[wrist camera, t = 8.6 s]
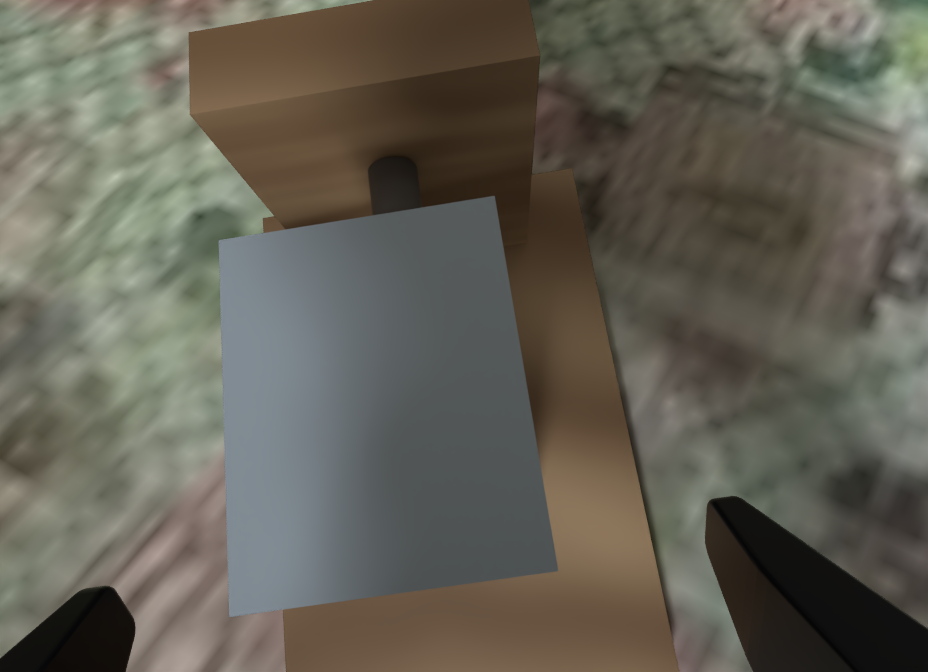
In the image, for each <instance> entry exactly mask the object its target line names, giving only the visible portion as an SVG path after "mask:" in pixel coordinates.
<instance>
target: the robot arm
mask: <svg viewBox="0 0 928 672" xmlns="http://www.w3.org/2000/svg"><path fill="white" fill-rule="evenodd" d="M705 544H706V549H707V553H708V556H709V559H710V561H711V564H712V567H713V569H714V572H715V575H716V577H717V580H718V583H719V586H720V588H721V591H722V594H723V596H724V599H725V602H726V604H727V607H728V610H729V612H730V615H731V618H732V620H733V623H734V626H735V628H736V631H737V634H738V637H739V639H740V642H741V644H742V647H743V649H744V652H745V655H746V657H747V659H748V661H749V664H750V666H751V668H752V670H753V672H928V628H926V627H925V626H923V625H922V624H920V623H919V622H918V621H916V620H915V619H913V618H912V617H910V616H909V615H908V614H906V613H905V612H903V611H902V610H900V609H899V608H898V607H896V606H895V605H893V604H892V603H890V602H889V601H888V600H886V599H885V598H883V597H882V596H880V595H879V594H877V593H876V592H875V591H873V590H872V589H870V588H869V587H867V586H866V585H865V584H863V583H862V582H860V581H859V580H857V579H856V578H855V577H853V576H852V575H850V574H849V573H847V572H846V571H845V570H843V569H842V568H840V567H839V566H837V565H836V564H835V563H833V562H832V561H830V560H829V559H827V558H826V557H825V556H823V555H822V554H820V553H819V552H817V551H816V550H815V549H813V548H812V547H810V546H809V545H807V544H806V543H805V542H803V541H802V540H800V539H799V538H797V537H796V536H795V535H793V534H792V533H790V532H789V531H787V530H786V529H785V528H783V527H782V526H780V525H779V524H777V523H776V522H775V521H773V520H772V519H770V518H769V517H767V516H766V515H765V514H763V513H762V512H760V511H759V510H757V509H756V508H755V507H753V506H752V505H750V504H749V503H747V502H746V501H745V500H743V499H741V498H739V497H737V496H730V497H723V498H716V499H712V500H710V501H709V502H708V505H707V514H706V531H705ZM134 637H135V622H134V618H133V616H132V615H131V613H130V612H129V610H128V609H127V607H126V606H125V604H124V602H123V601H122V599H121V598H120V596H119V595H118V593H117V592H116V590H115V589H114V588H112V587H110V586H100V587H93V588H87V589H83V590H81V591H79V592H78V593H76V594H75V595H74V596H73V597H71V598H70V599H69V600H68V601H67V602H66V603H64V604H63V605H62V606H61V607H60V608H59V609H57V610H56V611H55V612H54V613H53V614H52V615H50V616H49V617H48V618H47V619H46V620H45V621H43V622H42V623H41V624H40V625H39V626H38V627H36V628H35V629H34V630H33V631H32V632H31V633H29V634H28V635H27V636H26V637H25V638H24V639H22V640H21V641H20V642H19V643H18V644H17V645H15V646H14V647H13V648H12V649H11V650H9V651H8V652H7V653H6V654H5V655H4V656H2V657H1V658H0V672H126V668H127V664H128V660H129V657H130V653H131V649H132V645H133V641H134Z"/></svg>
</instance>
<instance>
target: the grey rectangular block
mask: <svg viewBox="0 0 928 672" xmlns="http://www.w3.org/2000/svg"><path fill="white" fill-rule="evenodd" d="M219 266H220V302H221V337H222V373H223V409H224V444H225V480H226V516H227V552H228V587H229V617H233V616H240V615H247V614H255V613H262V612H269V611H276V610H283V609H290V608H298V607H305V606H312V605H319V604H326V603H333V602H341V601H348V600H355V599H362V598H369V597H377V596H384V595H391V594H398V593H405V592H412V591H420V590H427V589H434V588H441V587H448V586H455V585H463V584H470V583H477V582H484V581H491V580H499V579H506V578H513V577H520V576H527V575H534V574H542V573H549V572H556V571H558V566H557V560H556V554H555V548H554V542H553V536H552V530H551V524H550V519H549V513H548V507H547V501H546V495H545V489H544V483H543V477H542V471H541V466H540V460H539V454H538V448H537V442H536V436H535V430H534V424H533V419H532V413H531V407H530V401H529V395H528V389H527V383H526V377H525V371H524V366H523V360H522V354H521V348H520V342H519V336H518V330H517V324H516V319H515V313H514V307H513V301H512V295H511V289H510V283H509V277H508V271H507V266H506V260H505V254H504V248H503V242H502V236H501V230H500V224H499V219H498V213H497V207H496V201H495V196H490V197H484V198H478V199H472V200H466V201H459V202H453V203H447V204H441V205H435V206H428V207H422V208H416V209H410V210H404V211H397V212H391V213H385V214H379V215H373V216H366V217H360V218H354V219H348V220H342V221H335V222H329V223H323V224H317V225H311V226H304V227H298V228H292V229H286V230H280V231H273V232H267V233H261V234H255V235H249V236H242V237H236V238H230V239H224V240H219Z"/></svg>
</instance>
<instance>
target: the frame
mask: <svg viewBox="0 0 928 672" xmlns="http://www.w3.org/2000/svg"><path fill="white" fill-rule="evenodd" d="M539 64H540V53H539V48H538V43H537V38H536V34H535V29H534V24H533V19H532V14H531V10H530V5H529V0H373V1H367V2H361V3H356V4H350V5H344V6H338V7H333V8H327V9H321V10H315V11H310V12H304V13H298V14H292V15H287V16H281V17H275V18H269V19H264V20H258V21H252V22H246V23H241V24H235V25H229V26H223V27H218V28H212V29H206V30H200V31H195V32H189V82H190V115H191V116H192V118H193V119H194V120H195V121H196V122H197V124H198V125H199V126H200V127H201V128H202V130H203V131H204V132H205V133H206V134H207V136H208V137H209V138H210V139H211V140H212V142H213V143H214V144H215V145H216V146H217V148H218V149H219V150H220V151H221V152H222V154H223V155H224V156H225V157H226V158H227V160H228V161H229V162H230V163H231V164H232V166H233V167H234V168H235V169H236V170H237V172H238V173H239V174H240V175H241V176H242V178H243V179H244V180H245V181H246V182H247V184H248V185H249V186H250V187H251V188H252V190H253V191H254V192H255V193H256V194H257V196H258V197H259V198H260V199H261V200H262V202H263V203H264V204H265V205H266V206H267V208H268V209H269V210H270V211H271V212H272V214H273V215H274V217H268V218H263V229H264V233H267V232H273V231H280V230H286V229H292V228H298V227H304V226H311V225H317V224H323V223H329V222H335V221H342V220H348V219H354V218H360V217H366V216H373V215H379V214H385V213H391V212H397V211H404V210H410V209H416V208H422V207H428V206H435V205H441V204H447V203H453V202H459V201H466V200H472V199H478V198H484V197H490V196H495V201H496V207H497V213H498V219H499V224H500V230H501V236H502V242H503V248H504V254H505V260H506V266H507V271H508V277H509V283H510V289H511V295H512V301H513V307H514V313H515V319H516V324H517V330H518V336H519V342H520V348H521V354H522V360H523V366H524V371H525V377H526V383H527V389H528V395H529V401H530V407H531V413H532V419H533V424H534V430H535V436H536V442H537V448H538V454H539V460H540V466H541V471H542V477H543V483H544V489H545V495H546V501H547V507H548V513H549V519H550V524H551V530H552V536H553V542H554V548H555V554H556V560H557V566H558V571H556V572H549V573H542V574H534V575H527V576H520V577H513V578H506V579H499V580H491V581H484V582H477V583H470V584H463V585H455V586H448V587H441V588H434V589H427V590H420V591H412V592H405V593H398V594H391V595H384V596H377V597H369V598H362V599H355V600H348V601H341V602H333V603H326V604H319V605H312V606H305V607H298V608H290V609H283V622H284V642H285V661H286V672H679V668H678V663H677V659H676V654H675V649H674V645H673V640H672V635H671V631H670V626H669V621H668V616H667V612H666V607H665V602H664V598H663V593H662V588H661V584H660V579H659V574H658V569H657V565H656V560H655V555H654V551H653V546H652V541H651V537H650V532H649V527H648V522H647V518H646V513H645V508H644V504H643V499H642V494H641V490H640V485H639V480H638V476H637V471H636V466H635V461H634V457H633V452H632V447H631V443H630V438H629V433H628V429H627V424H626V419H625V414H624V410H623V405H622V400H621V396H620V391H619V386H618V382H617V377H616V372H615V368H614V363H613V358H612V353H611V349H610V344H609V339H608V335H607V330H606V325H605V321H604V316H603V311H602V306H601V302H600V297H599V292H598V288H597V283H596V278H595V274H594V269H593V264H592V260H591V255H590V250H589V245H588V241H587V236H586V231H585V227H584V222H583V217H582V213H581V208H580V203H579V198H578V194H577V189H576V184H575V180H574V175H573V170H572V168H570V169H564V170H557V171H551V172H545V173H539V174H533V175H532V163H533V149H534V135H535V121H536V106H537V92H538V78H539Z"/></svg>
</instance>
